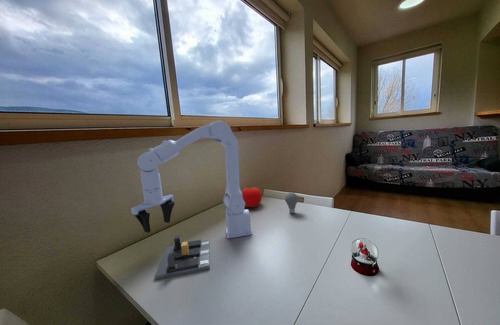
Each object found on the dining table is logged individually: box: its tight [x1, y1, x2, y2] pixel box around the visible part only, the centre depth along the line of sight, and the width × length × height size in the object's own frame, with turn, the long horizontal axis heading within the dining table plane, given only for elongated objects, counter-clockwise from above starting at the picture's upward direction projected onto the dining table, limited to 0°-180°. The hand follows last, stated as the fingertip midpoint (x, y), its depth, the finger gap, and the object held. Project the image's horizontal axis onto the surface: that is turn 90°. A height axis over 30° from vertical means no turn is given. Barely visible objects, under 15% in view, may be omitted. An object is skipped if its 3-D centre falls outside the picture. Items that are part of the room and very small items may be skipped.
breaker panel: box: [154, 234, 211, 280], centre depth 64 cm, size 15×15×5 cm
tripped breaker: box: [181, 241, 189, 255], centre depth 64 cm, size 2×2×3 cm
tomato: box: [241, 186, 263, 208], centre depth 107 cm, size 11×12×10 cm
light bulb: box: [284, 192, 299, 214], centre depth 94 cm, size 6×6×10 cm
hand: (157, 226), depth 68 cm, fingers open, 7 cm apart
